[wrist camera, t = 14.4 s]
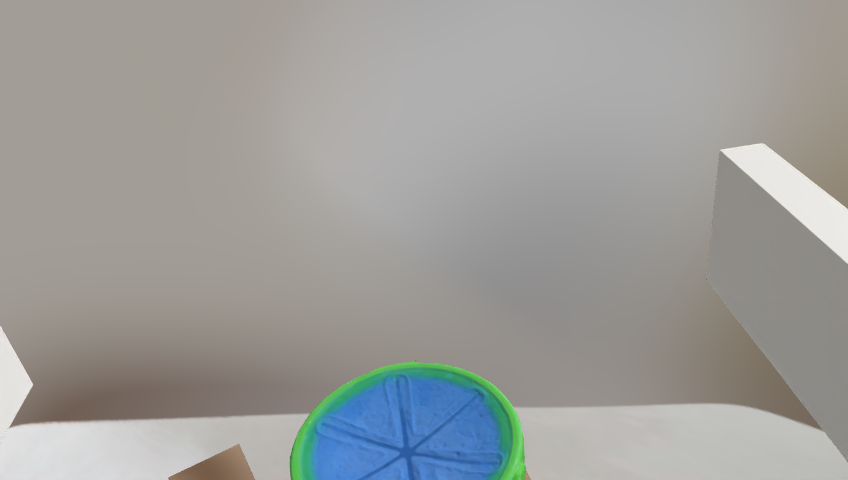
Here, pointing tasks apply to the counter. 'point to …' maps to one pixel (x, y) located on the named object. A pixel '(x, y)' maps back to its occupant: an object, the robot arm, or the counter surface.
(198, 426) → the counter surface
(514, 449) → the snack cup
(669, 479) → the counter surface
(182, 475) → the walnut block
